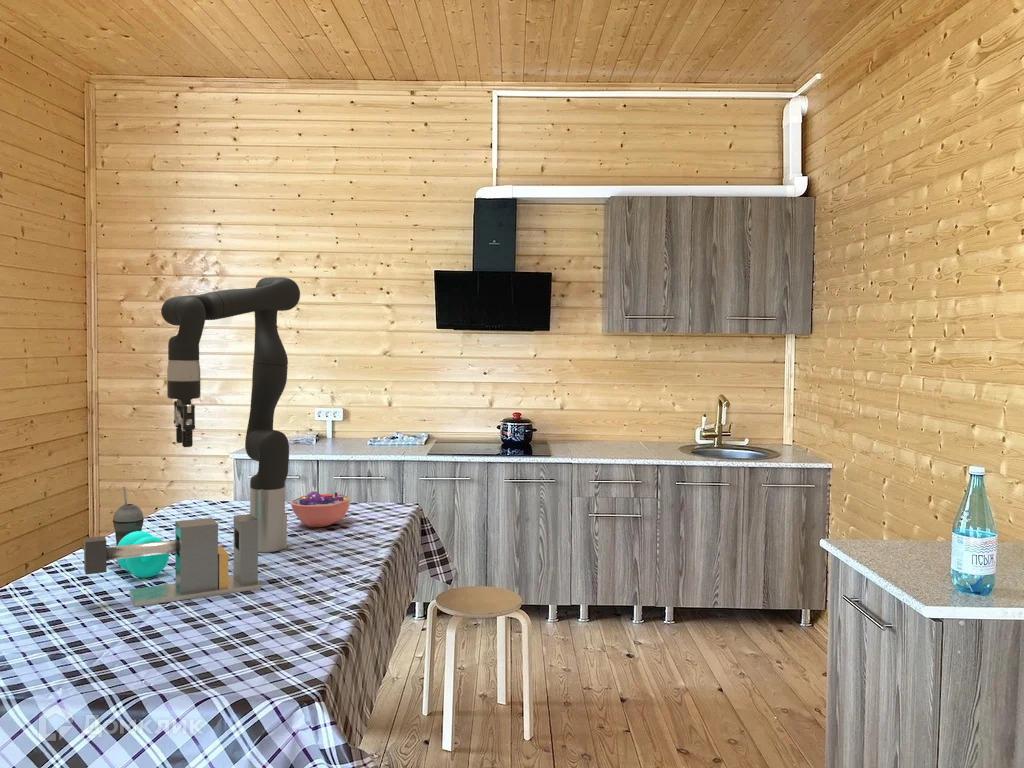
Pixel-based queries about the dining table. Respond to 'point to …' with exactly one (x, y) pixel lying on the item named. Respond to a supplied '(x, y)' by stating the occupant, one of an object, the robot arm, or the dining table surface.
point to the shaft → (120, 552)
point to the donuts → (144, 564)
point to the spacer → (222, 568)
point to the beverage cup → (127, 519)
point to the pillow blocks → (206, 562)
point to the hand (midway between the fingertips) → (184, 444)
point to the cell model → (320, 508)
